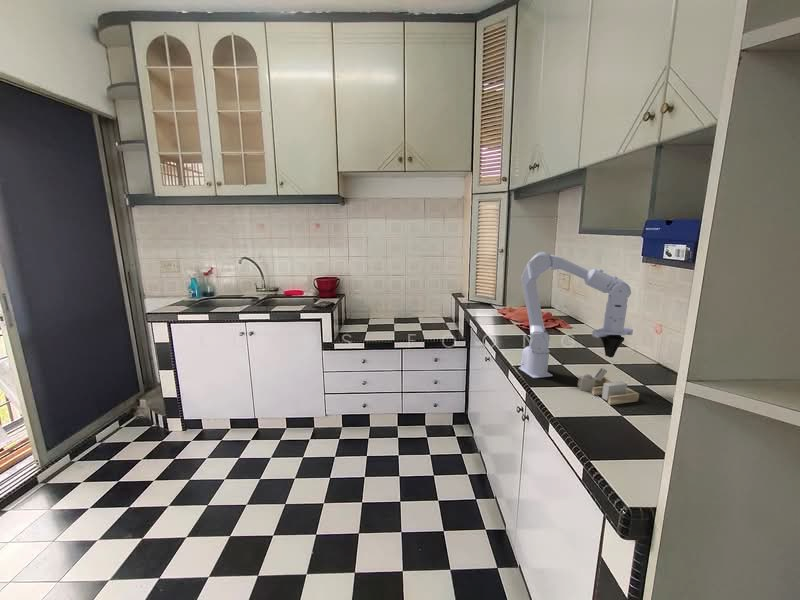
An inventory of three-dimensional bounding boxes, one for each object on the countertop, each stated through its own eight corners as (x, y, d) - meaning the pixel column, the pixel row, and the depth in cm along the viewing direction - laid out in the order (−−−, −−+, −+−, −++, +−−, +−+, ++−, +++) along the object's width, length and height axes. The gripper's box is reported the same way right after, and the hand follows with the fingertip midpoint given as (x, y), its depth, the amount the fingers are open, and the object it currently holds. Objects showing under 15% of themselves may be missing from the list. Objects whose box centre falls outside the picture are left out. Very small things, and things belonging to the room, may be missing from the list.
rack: (577, 386, 117) (578, 379, 117) (603, 383, 120) (604, 376, 120) (609, 405, 105) (610, 397, 104) (637, 401, 108) (639, 393, 107)
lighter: (580, 390, 114) (583, 367, 113) (579, 388, 116) (582, 365, 114) (604, 392, 113) (607, 369, 111) (602, 390, 115) (605, 367, 113)
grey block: (601, 397, 109) (603, 383, 108) (619, 395, 111) (621, 381, 110) (606, 400, 108) (609, 385, 107) (624, 398, 109) (627, 383, 108)
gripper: (606, 321, 108) (601, 362, 111) (643, 319, 112) (637, 358, 114) (589, 315, 115) (584, 354, 117) (624, 313, 118) (618, 351, 121)
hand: (609, 356), depth 116 cm, fingers closed
